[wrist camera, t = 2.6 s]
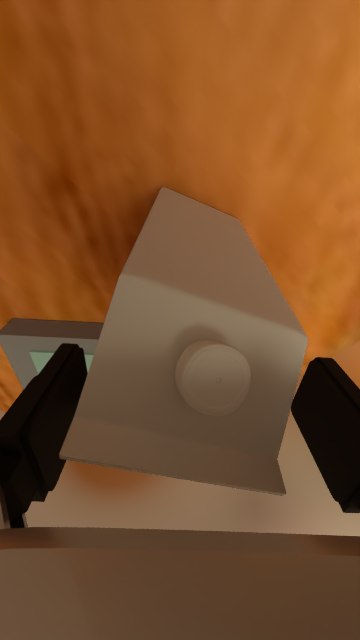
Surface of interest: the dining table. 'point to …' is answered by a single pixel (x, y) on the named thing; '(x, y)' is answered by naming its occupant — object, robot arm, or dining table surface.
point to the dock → (44, 343)
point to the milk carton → (192, 357)
